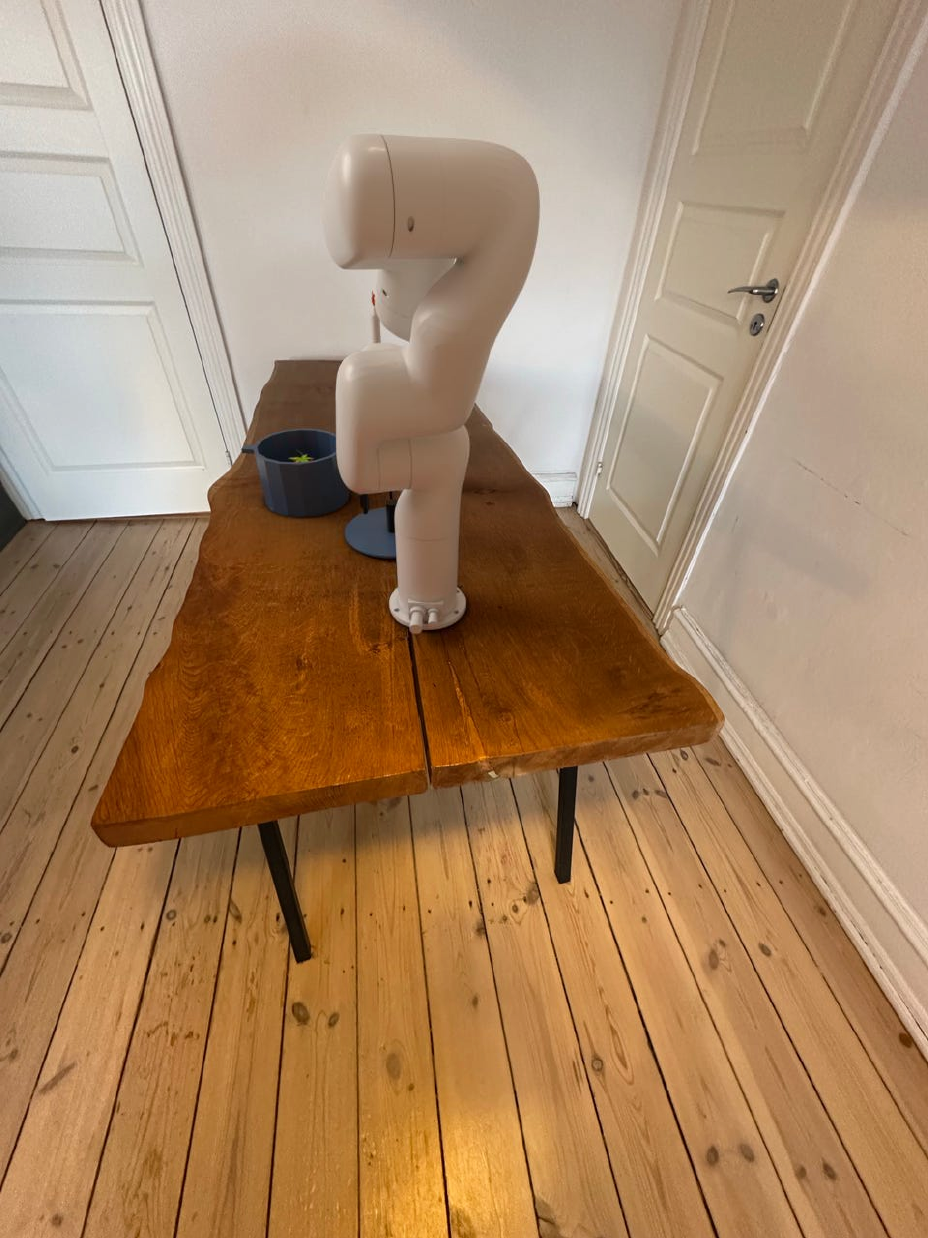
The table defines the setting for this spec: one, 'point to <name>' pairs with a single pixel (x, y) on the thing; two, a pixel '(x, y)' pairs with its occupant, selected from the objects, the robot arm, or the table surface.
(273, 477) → the pot
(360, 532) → the lid
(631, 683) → the table surface
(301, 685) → the table surface
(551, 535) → the table surface
